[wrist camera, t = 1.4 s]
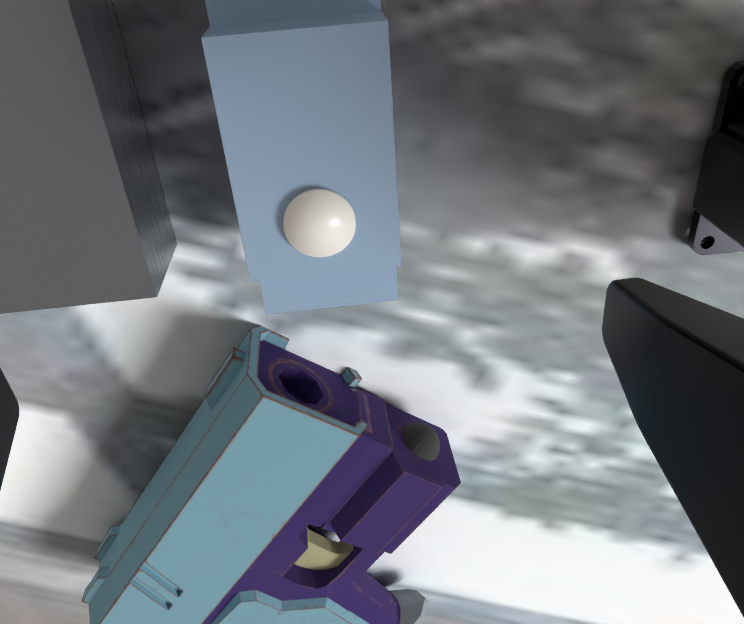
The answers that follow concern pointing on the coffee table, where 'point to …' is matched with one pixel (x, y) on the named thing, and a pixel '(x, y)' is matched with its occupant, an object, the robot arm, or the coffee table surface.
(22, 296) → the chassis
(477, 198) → the coffee table surface
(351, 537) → the pistol
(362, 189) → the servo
